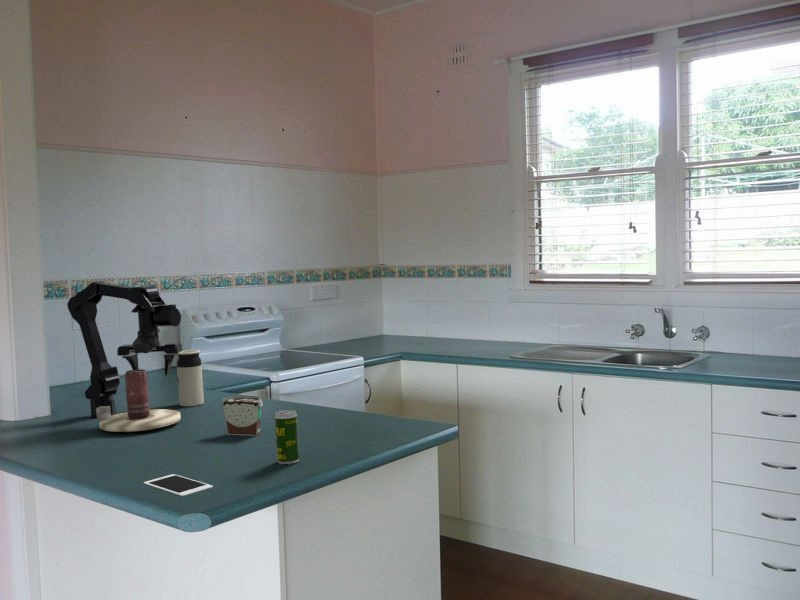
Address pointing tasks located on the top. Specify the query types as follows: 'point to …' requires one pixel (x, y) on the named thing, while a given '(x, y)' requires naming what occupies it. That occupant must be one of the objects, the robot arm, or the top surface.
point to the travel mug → (190, 378)
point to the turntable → (135, 420)
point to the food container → (242, 415)
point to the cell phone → (178, 484)
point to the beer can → (286, 437)
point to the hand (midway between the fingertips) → (151, 376)
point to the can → (137, 394)
